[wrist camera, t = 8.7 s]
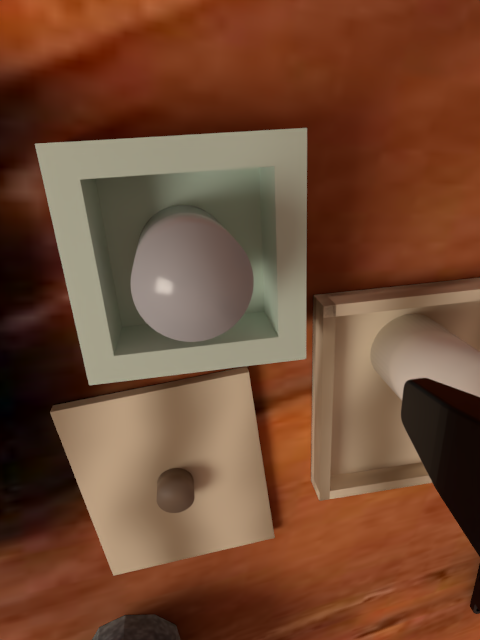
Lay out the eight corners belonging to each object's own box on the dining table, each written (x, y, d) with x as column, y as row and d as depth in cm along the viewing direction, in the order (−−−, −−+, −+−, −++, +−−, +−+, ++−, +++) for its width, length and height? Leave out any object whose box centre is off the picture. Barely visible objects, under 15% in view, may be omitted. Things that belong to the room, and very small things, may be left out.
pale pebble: (446, 309, 22) (526, 358, 17) (436, 376, 24) (507, 438, 19) (372, 318, 22) (433, 370, 17) (368, 385, 23) (421, 452, 18)
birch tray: (497, 275, 22) (519, 284, 21) (463, 456, 27) (480, 474, 26) (313, 294, 21) (323, 306, 20) (311, 480, 26) (319, 500, 25)
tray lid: (246, 366, 22) (252, 384, 21) (272, 529, 27) (279, 554, 25) (53, 405, 22) (43, 427, 20) (114, 566, 26) (110, 594, 25)
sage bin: (283, 130, 18) (307, 127, 15) (286, 327, 22) (305, 359, 19) (60, 143, 17) (34, 143, 14) (101, 348, 21) (89, 385, 18)
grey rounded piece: (229, 205, 19) (256, 224, 14) (227, 293, 20) (250, 339, 15) (135, 203, 18) (127, 222, 13) (139, 294, 19) (133, 344, 14)
